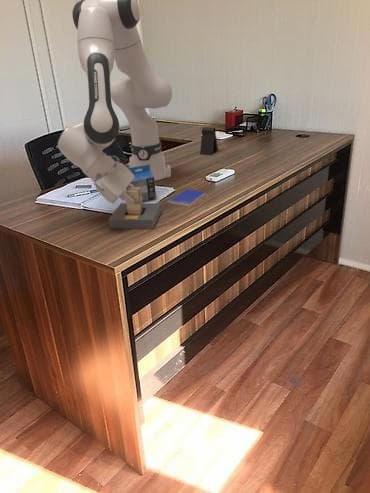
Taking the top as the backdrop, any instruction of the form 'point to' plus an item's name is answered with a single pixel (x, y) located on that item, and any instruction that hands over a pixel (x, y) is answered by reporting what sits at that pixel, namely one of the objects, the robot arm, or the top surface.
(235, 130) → the top surface
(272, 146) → the top surface
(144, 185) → the label tape box
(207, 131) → the phone stand
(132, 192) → the birch peg
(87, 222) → the top surface
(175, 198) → the hard drive
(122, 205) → the block
